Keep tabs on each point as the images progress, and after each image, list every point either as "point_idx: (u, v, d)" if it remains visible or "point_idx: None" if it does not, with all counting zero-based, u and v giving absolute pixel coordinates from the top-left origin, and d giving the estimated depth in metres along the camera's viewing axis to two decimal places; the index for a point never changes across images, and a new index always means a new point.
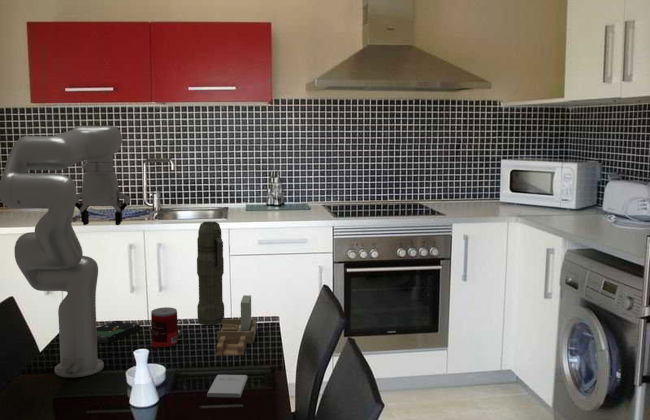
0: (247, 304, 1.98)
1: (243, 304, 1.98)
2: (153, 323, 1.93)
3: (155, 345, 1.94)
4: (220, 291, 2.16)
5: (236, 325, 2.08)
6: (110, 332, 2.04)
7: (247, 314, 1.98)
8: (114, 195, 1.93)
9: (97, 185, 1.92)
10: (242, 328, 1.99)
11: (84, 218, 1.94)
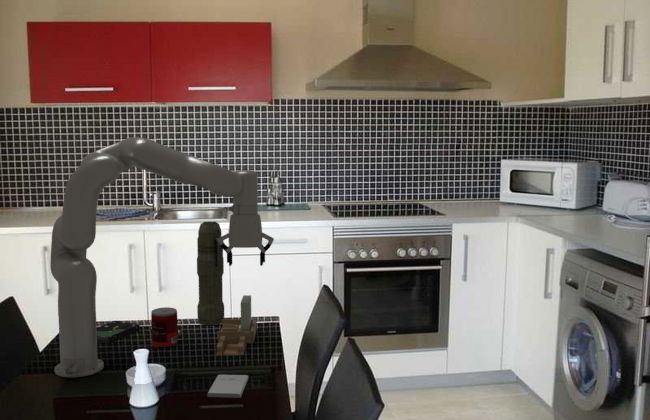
0: (247, 304, 1.98)
1: (243, 304, 1.98)
2: (153, 323, 1.93)
3: (155, 345, 1.94)
4: (220, 291, 2.16)
5: (236, 325, 2.08)
6: (110, 331, 2.04)
7: (247, 314, 1.98)
8: (260, 237, 1.98)
9: (244, 227, 1.97)
10: (242, 328, 1.99)
11: (230, 259, 1.99)
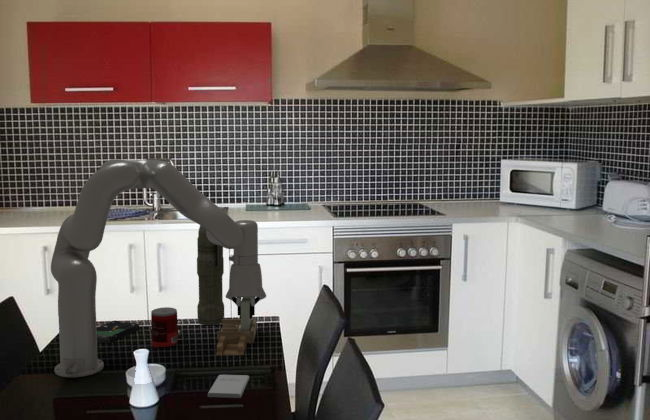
0: (247, 304, 1.98)
1: (243, 304, 1.98)
2: (153, 323, 1.93)
3: (155, 345, 1.94)
4: (220, 291, 2.16)
5: (236, 325, 2.08)
6: (110, 331, 2.04)
7: (247, 314, 1.98)
8: (260, 287, 2.00)
9: (244, 277, 1.99)
10: (242, 328, 1.99)
11: None
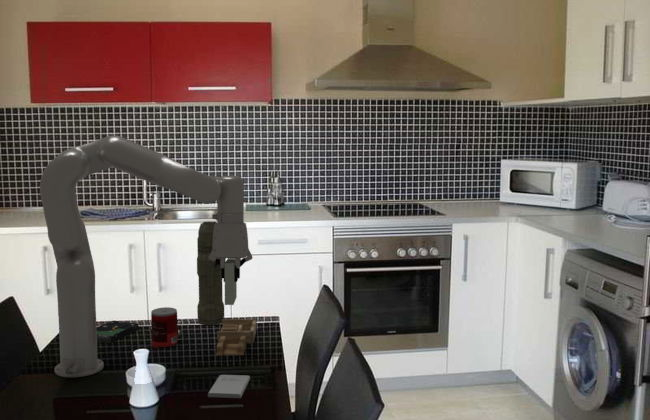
0: (231, 265, 1.84)
1: (227, 265, 1.84)
2: (153, 323, 1.93)
3: (155, 345, 1.94)
4: (220, 291, 2.16)
5: (236, 325, 2.08)
6: (111, 331, 2.04)
7: (231, 276, 1.84)
8: (246, 247, 1.85)
9: (229, 237, 1.85)
10: (226, 291, 1.85)
11: None
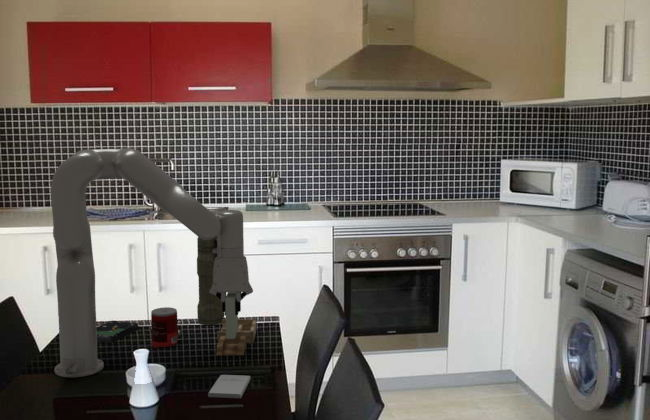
0: (232, 300, 1.85)
1: (228, 300, 1.85)
2: (153, 323, 1.93)
3: (155, 345, 1.94)
4: None
5: None
6: (111, 331, 2.04)
7: (232, 310, 1.85)
8: (246, 281, 1.87)
9: (229, 271, 1.86)
10: (227, 325, 1.86)
11: None
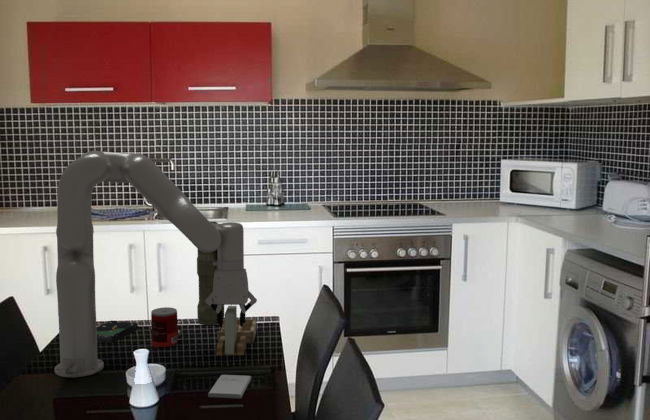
0: (231, 315, 1.85)
1: (227, 315, 1.85)
2: (153, 323, 1.93)
3: (155, 345, 1.94)
4: None
5: None
6: (111, 331, 2.04)
7: (232, 326, 1.86)
8: (246, 293, 1.87)
9: (229, 283, 1.86)
10: (227, 341, 1.86)
11: (220, 320, 1.89)
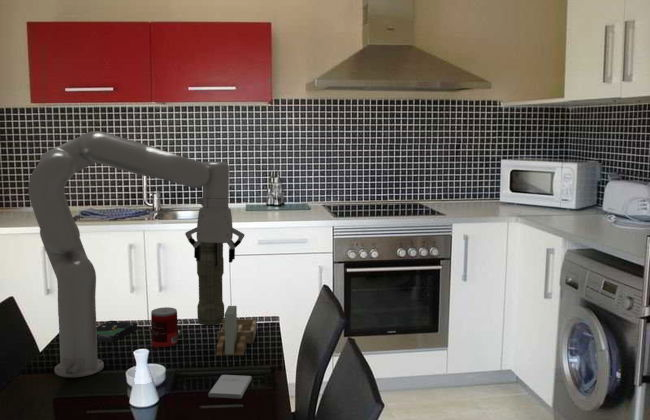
0: (231, 315, 1.85)
1: (227, 315, 1.85)
2: (153, 323, 1.93)
3: (155, 345, 1.94)
4: (220, 291, 2.16)
5: None
6: (111, 331, 2.04)
7: (232, 326, 1.86)
8: (229, 232, 1.88)
9: (213, 221, 1.87)
10: (227, 341, 1.86)
11: (197, 254, 1.89)
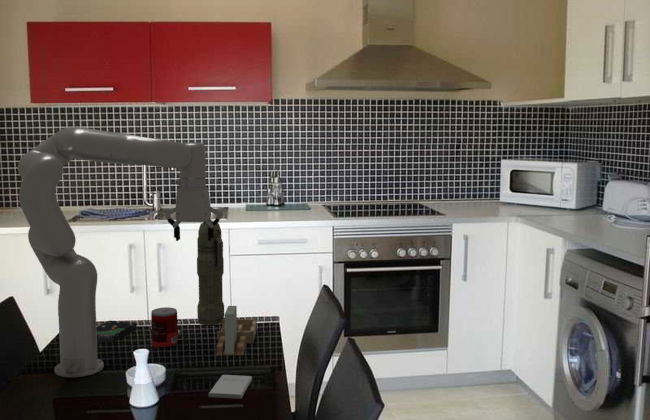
0: (231, 315, 1.85)
1: (227, 315, 1.85)
2: (153, 323, 1.93)
3: (155, 345, 1.94)
4: (220, 291, 2.16)
5: None
6: (111, 331, 2.04)
7: (232, 326, 1.86)
8: (208, 211, 1.92)
9: (191, 201, 1.91)
10: (227, 341, 1.86)
11: (177, 234, 1.94)
